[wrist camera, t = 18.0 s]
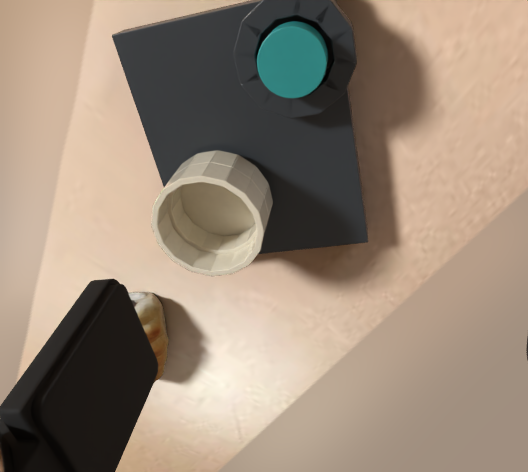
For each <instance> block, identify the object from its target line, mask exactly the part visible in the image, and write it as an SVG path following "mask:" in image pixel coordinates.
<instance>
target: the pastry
mask: <svg viewBox="0 0 528 472" xmlns="http://www.w3.org/2000/svg"><path fill="white" fill-rule="evenodd" d="M128 294H129V296H130V298H131V301H132V303H133V305H134V308H135V310H136V312H137V314H138V317H139V319H140V321H141V324H142V326H143V328H144V330H145V333H146V335H147V337H148V340H149V342H150V344H151V346H152V349H153V351H154V353H155V356H156V358H157V361H158V373H157V376H156V379H155V381H156V380H158V379H159V378H160V377H161V376H162V375H163V373H164V365H165V362H166V360H167V346H168V342H169V339H168V336H167V334H166V321H165V318H164V310H163V306H162V304H161V302H160V301H159V300H158V298H157V297H156V296H155V295H154V294H152V293H148V292H133V293H128ZM155 381H154V382H155Z"/></svg>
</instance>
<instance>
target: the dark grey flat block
mask: <svg viewBox="0 0 528 472" xmlns="http://www.w3.org/2000/svg"><path fill="white" fill-rule="evenodd" d="M292 21H298V22H303V23H306V24H309V25H311V26H312V27H314V28H315V29H316V30H317V31H318V32H319V33H320V34H321V35H322V37H323V39H324V41H325V43H326V46H327V50H328V61H327V67H326V72H325V75H324V77H323V80H322V81H321V83H320V84H319V86H318V87H317V88H316V89H315V90H314V91H312V92H311V93H310V94H308V95H306V96H303V97H300V98H284V97H280V96H278V95H276V94H274V93H273V92H271V91H270V90H269V89H268V88H267V87H266V86H265V85H264V83H263V82H262V80H261V78H260V76H259V72H258V68H257V56H258V52H259V49H260V47H261V45H262V43H263V41H264V40H265V39H266V37H267V36H268V35H269V34H270V33H271V32H272V30H274V29H275V28H276V27H278V26H279V25H281V24H283V23H287V22H292ZM112 38H113V40H114V43H115V46H116V49H117V52H118V55H119V58H120V61H121V64H122V67H123V70H124V72H125V75H126V78H127V81H128V84H129V87H130V90H131V93H132V96H133V99H134V101H135V104H136V107H137V110H138V113H139V116H140V119H141V122H142V125H143V128H144V131H145V133H146V136H147V139H148V142H149V145H150V148H151V151H152V154H153V157H154V160H155V162H156V165H157V168H158V171H159V174H160V177H161V180H162V183H163V186H164V187H165V186H166V184H167V183H168V182H169V180H170V179H171V177H172V176H173V175H174V173H175V172H176V171H177V169H178V168H179V167H180V165H181V164H182V163H184V162H185V161H187V160H188V159H190V158H191V157H193V156H194V155H196V154H198V153H203V152H209V151H216V150H217V151H218V150H219V151H224V152H228V153H233V154H237V155H240V156H241V157H243V158H244V159H246V160H247V161H249V162H250V163H252V164H253V165H255V166H256V167H257V168H258V169H259V171H260V172H261V173H262V175H263V176H264V178H265V179H266V180H267V182H268V184H269V187H270V191H271V196H272V200H273V205H272V210H271V214H270V219H269V223H268V226H267V230H266V233H265V237H264V240H263V244H262V247H261V250H260V252H259V253H258V254H264V253H273V252H282V251H292V250H301V249H310V248H319V247H329V246H338V245H347V244H356V243H366V242H368V231H367V222H366V215H365V207H364V200H363V192H362V185H361V178H360V170H359V163H358V155H357V148H356V141H355V133H354V126H353V118H352V111H351V104H350V96H349V89H348V84H349V82H350V79H351V77H352V74H353V72H354V69H355V67H356V64H357V55H356V47H355V39H354V31H353V25H352V23H351V21H350V20H349V19H348V17H347V16H346V15H345V13H344V12H343V11H342V9H341V8H340V7H339V6H338V4H337V0H252V1H247V2H243V3H239V4H234V5H230V6H226V7H221V8H217V9H213V10H208V11H204V12H200V13H196V14H191V15H187V16H183V17H178V18H174V19H170V20H165V21H161V22H157V23H152V24H148V25H144V26H139V27H135V28H131V29H127V30H123V31H121V32H118V33H116V34H114V35H112Z"/></svg>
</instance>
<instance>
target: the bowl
mask: <svg viewBox="0 0 528 472" xmlns="http://www.w3.org/2000/svg"><path fill="white" fill-rule="evenodd" d="M272 205H273V200H272V196H271V191H270V187H269V184H268V182H267V180H266V179H265V178H264V176H263V175H262V173H261V172H260V171H259V169H258V168H257V167H256V166H255V165H253V164H252V163H250V162H249V161H247V160H246V159H244V158H243V157H241V156H240V155H237V154H233V153H228V152H224V151H219V150H218V151H217V150H216V151H209V152H203V153H198V154H196V155H194V156H193V157H191V158H190V159H188V160H187V161H185V162H184V163H182V164H181V165H180V167H179V168H178V169H177V171H176V172H175V173H174V175H173V176H172V177H171V179H170V180H169V182H168V183H167V184H166V186H165V187H164V188H163V190H162V191H161V193H160V195H159V196H158V198H157V200H156V201H155V203H154V205H153V207H152V223H151V225H152V229H153V232H154V234H155V237H156V240H157V242H158V244H159V246H160V247H161V248H162V249H163V251H164V252H165V253H166V254H167V255H168V256H169V258H170V259H171V260H172V261H174V262H175V263H177V264H179V265H180V266H182V267H184V268H185V269H187V270H189V271H191V272H195V273H199V274H203V275H208V276H220V275H230V274H233V273H235V272H237V271H239V270H241V269H243V268H245V267H247V266H248V265H250V263H251V262H252V261H253V260H254V258H255V257H256V256H257V255H258V253H259V252H260V250H261V247H262V244H263V240H264V237H265V233H266V230H267V226H268V223H269V219H270V214H271V210H272Z"/></svg>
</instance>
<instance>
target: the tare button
mask: <svg viewBox="0 0 528 472" xmlns="http://www.w3.org/2000/svg"><path fill="white" fill-rule="evenodd" d="M327 61H328V50H327V46H326V43H325V41H324V39H323V37H322V35H321V34H320V33H319V32H318V31H317V30H316V29H315V28H314V27H312V26H311V25H309V24H306V23H303V22H298V21H292V22H287V23H283V24H281V25H279V26H278V27H276V28H275V29H274V30H272V32H271V33H270V34H269V35H268V36H267V37H266V39H265V40H264V41H263V43H262V45H261V47H260V49H259V52H258V56H257V68H258V72H259V76H260V78H261V80H262V82H263V83H264V85H265V86H266V87H267V88H268V89H269V90H270V91H271V92H273V93H274V94H276V95H278V96H280V97H284V98H300V97H303V96H306V95H308V94H310V93H311V92H312V91H314V90H315V89H316V88H317V87H318V86H319V84H320V83H321V81H322V80H323V77H324V75H325V72H326V67H327Z"/></svg>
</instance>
